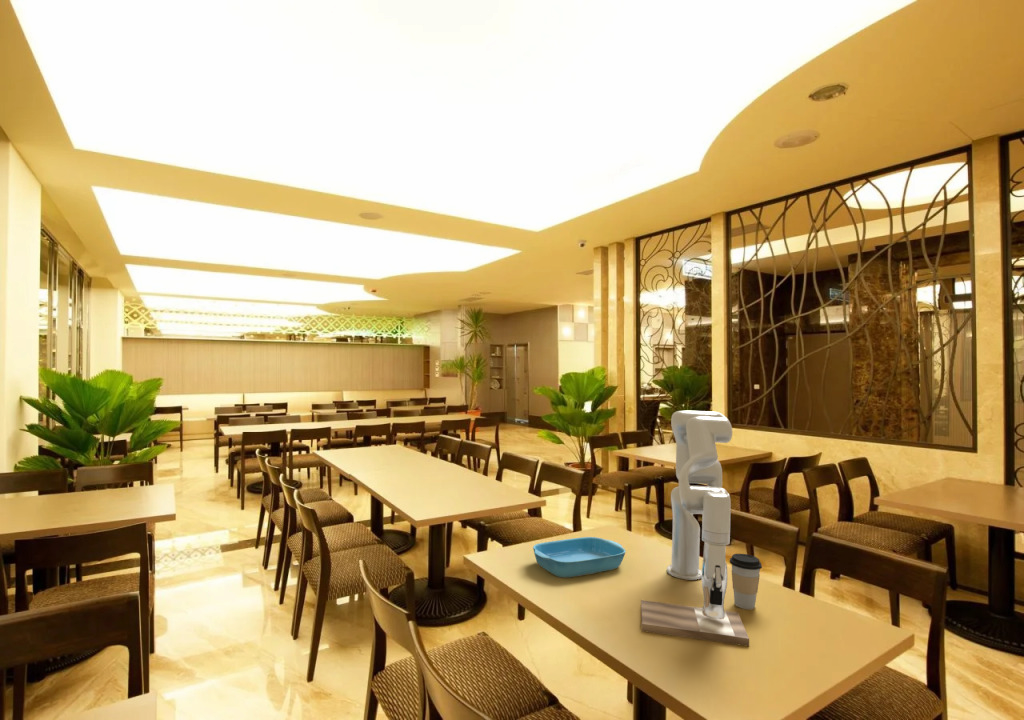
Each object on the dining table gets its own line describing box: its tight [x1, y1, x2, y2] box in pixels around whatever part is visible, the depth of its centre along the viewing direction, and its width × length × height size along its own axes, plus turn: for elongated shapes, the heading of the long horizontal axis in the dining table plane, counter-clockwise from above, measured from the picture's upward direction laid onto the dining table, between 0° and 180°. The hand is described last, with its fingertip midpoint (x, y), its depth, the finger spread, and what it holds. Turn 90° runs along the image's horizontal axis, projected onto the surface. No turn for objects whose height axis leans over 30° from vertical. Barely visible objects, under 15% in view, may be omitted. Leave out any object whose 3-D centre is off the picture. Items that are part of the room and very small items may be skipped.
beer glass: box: [701, 559, 728, 620], centre depth 151 cm, size 7×7×15 cm
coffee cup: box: [729, 553, 763, 610], centre depth 167 cm, size 9×9×15 cm
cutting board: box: [640, 599, 750, 647], centre depth 152 cm, size 16×28×2 cm, turn 77°
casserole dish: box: [532, 536, 627, 578], centre depth 196 cm, size 37×22×7 cm, turn 120°
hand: (713, 598), depth 151 cm, fingers closed on beer glass, 6 cm apart
